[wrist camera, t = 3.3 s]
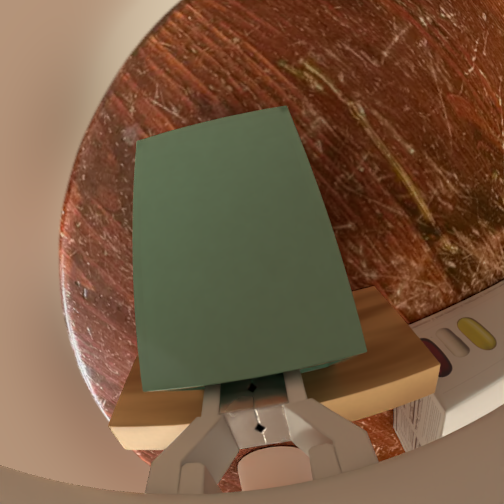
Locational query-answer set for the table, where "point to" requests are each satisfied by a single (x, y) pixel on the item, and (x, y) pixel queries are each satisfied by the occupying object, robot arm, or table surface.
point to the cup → (274, 468)
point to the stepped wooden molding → (315, 382)
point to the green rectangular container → (235, 257)
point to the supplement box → (458, 369)
